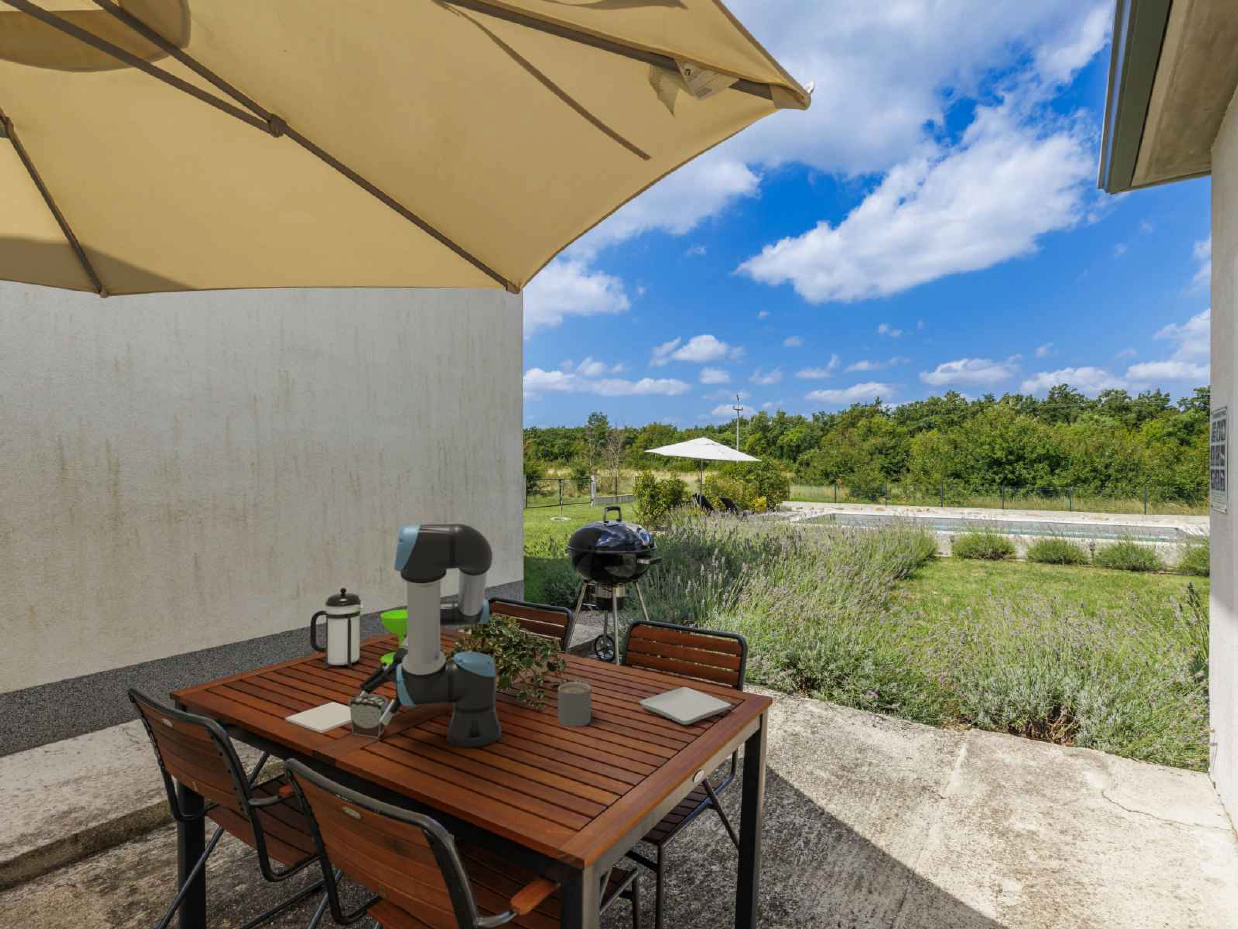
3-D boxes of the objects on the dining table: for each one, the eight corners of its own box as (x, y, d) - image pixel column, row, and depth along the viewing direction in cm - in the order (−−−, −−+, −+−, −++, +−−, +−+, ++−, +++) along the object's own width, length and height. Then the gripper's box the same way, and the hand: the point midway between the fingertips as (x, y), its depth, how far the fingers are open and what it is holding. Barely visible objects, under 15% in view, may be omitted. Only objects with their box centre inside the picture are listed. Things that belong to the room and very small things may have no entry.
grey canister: (576, 729, 192) (576, 695, 192) (551, 721, 198) (551, 688, 198) (604, 715, 202) (604, 683, 203) (579, 708, 208) (579, 677, 208)
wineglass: (378, 655, 267) (378, 611, 267) (419, 651, 273) (419, 608, 274) (382, 666, 252) (382, 620, 252) (424, 661, 259) (425, 616, 259)
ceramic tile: (368, 715, 202) (368, 713, 202) (321, 733, 188) (321, 730, 188) (333, 704, 212) (333, 701, 212) (285, 720, 198) (285, 717, 198)
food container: (397, 731, 190) (397, 696, 190) (383, 739, 185) (383, 703, 185) (362, 725, 194) (363, 691, 194) (348, 733, 189) (348, 698, 189)
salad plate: (685, 731, 191) (685, 720, 191) (637, 711, 208) (637, 700, 208) (733, 714, 205) (733, 703, 205) (684, 696, 221) (684, 686, 221)
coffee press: (355, 656, 265) (355, 582, 266) (368, 665, 253) (369, 588, 253) (309, 664, 254) (310, 587, 254) (321, 674, 242) (321, 593, 242)
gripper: (444, 666, 196) (403, 733, 183) (390, 653, 209) (348, 715, 197) (431, 653, 192) (388, 721, 179) (376, 640, 205) (333, 703, 192)
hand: (367, 718), depth 188 cm, fingers open, 13 cm apart
